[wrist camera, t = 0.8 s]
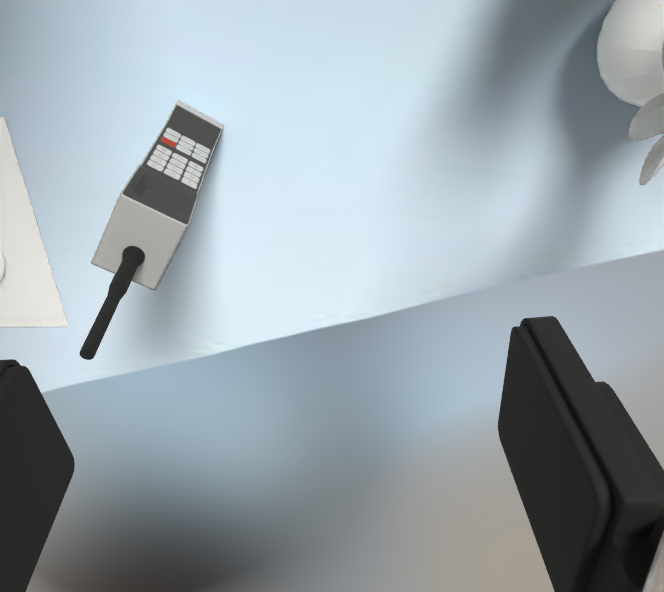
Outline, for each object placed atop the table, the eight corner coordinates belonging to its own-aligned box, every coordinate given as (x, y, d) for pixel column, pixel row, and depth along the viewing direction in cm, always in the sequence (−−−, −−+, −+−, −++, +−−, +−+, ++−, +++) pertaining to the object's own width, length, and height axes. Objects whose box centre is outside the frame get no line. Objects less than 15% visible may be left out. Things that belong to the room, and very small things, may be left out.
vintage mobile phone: (224, 123, 43) (155, 323, 23) (198, 176, 46) (114, 400, 25) (178, 98, 42) (62, 286, 22) (154, 153, 45) (28, 370, 24)
